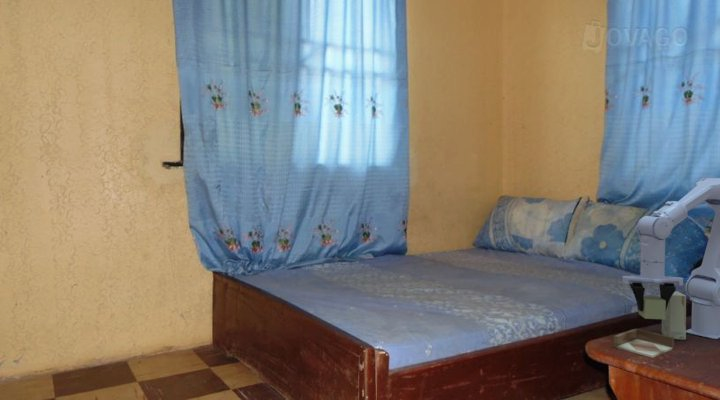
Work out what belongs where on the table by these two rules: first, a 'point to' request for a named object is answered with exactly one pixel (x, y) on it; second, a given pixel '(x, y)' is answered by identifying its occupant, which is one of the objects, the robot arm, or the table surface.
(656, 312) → the olive cube
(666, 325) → the skincare box
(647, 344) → the arena
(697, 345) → the table surface
